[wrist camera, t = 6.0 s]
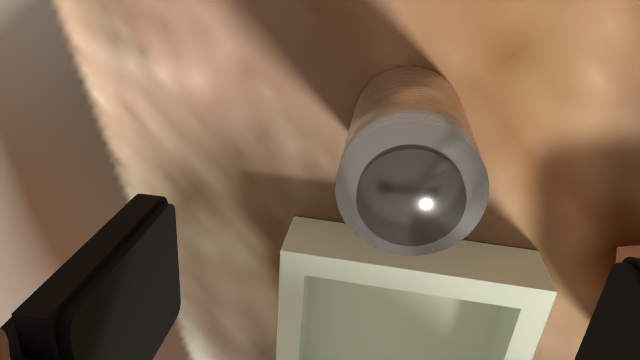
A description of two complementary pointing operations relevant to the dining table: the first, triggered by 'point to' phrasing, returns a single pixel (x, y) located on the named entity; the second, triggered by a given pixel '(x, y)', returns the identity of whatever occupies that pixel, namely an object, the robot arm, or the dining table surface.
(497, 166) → the dining table surface
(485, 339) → the tray
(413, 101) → the cylinder
